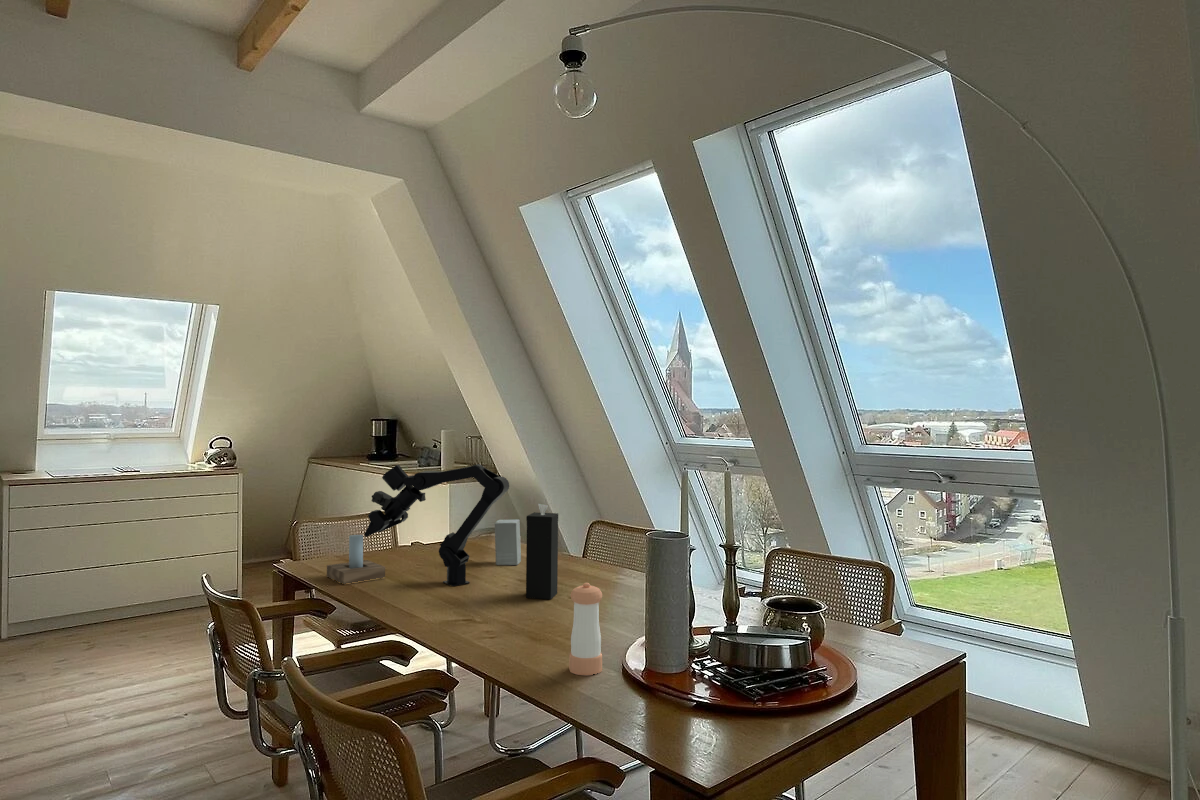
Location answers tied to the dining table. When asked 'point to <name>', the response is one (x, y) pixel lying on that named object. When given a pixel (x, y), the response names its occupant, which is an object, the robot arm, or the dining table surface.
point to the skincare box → (507, 542)
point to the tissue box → (542, 554)
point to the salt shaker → (586, 631)
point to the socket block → (355, 572)
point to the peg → (355, 551)
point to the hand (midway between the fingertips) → (371, 533)
